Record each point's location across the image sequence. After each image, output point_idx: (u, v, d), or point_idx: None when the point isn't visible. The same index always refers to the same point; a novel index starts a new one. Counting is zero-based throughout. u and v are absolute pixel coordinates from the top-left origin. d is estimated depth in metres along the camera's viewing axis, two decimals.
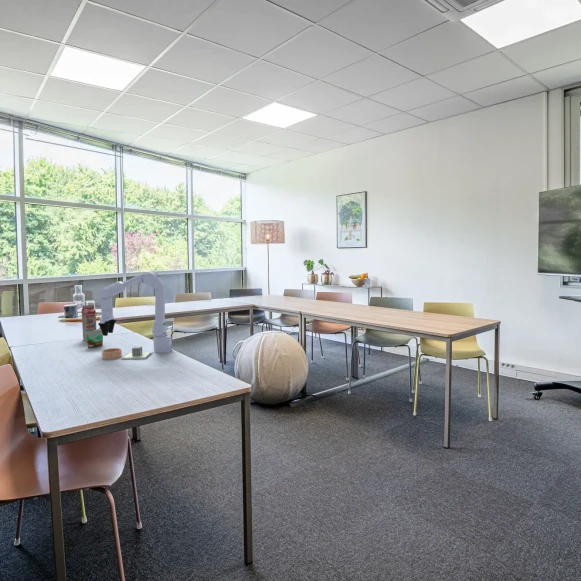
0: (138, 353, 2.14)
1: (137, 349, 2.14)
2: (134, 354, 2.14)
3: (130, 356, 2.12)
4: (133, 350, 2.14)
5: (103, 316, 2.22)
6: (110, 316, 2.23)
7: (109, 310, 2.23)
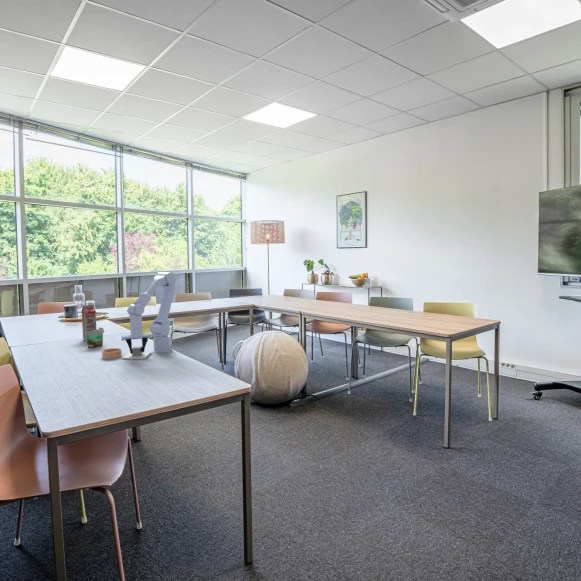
0: (138, 353, 2.14)
1: (137, 349, 2.14)
2: (134, 354, 2.14)
3: (130, 356, 2.12)
4: (133, 350, 2.14)
5: None
6: (133, 334, 2.12)
7: (132, 328, 2.12)
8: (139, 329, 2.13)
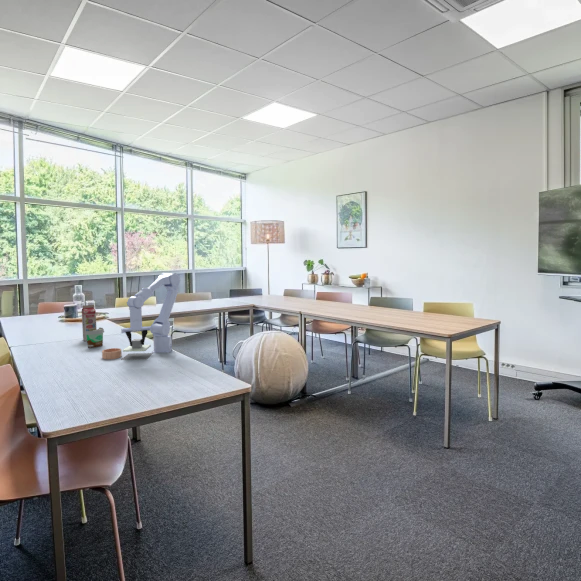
0: (138, 345, 2.13)
1: (137, 341, 2.13)
2: (134, 346, 2.13)
3: (130, 348, 2.12)
4: (133, 342, 2.13)
5: None
6: (133, 327, 2.12)
7: (132, 320, 2.11)
8: (139, 321, 2.12)
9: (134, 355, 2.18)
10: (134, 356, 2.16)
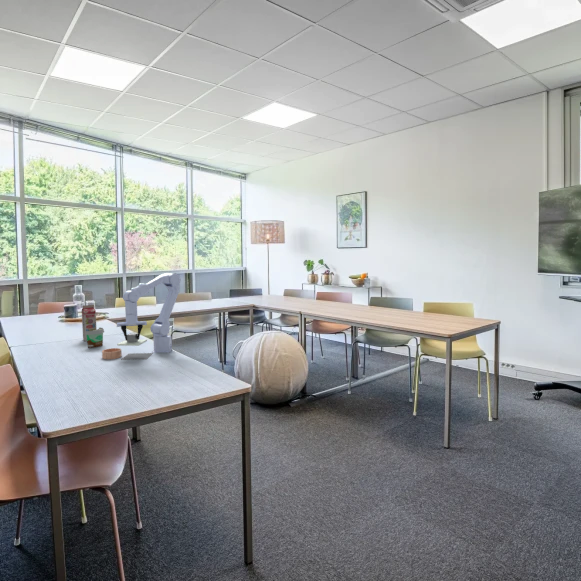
0: (133, 340, 2.13)
1: (132, 336, 2.13)
2: (129, 341, 2.13)
3: (125, 343, 2.12)
4: (128, 337, 2.13)
5: None
6: (128, 321, 2.11)
7: (127, 314, 2.11)
8: (134, 316, 2.12)
9: (134, 355, 2.18)
10: (134, 356, 2.16)
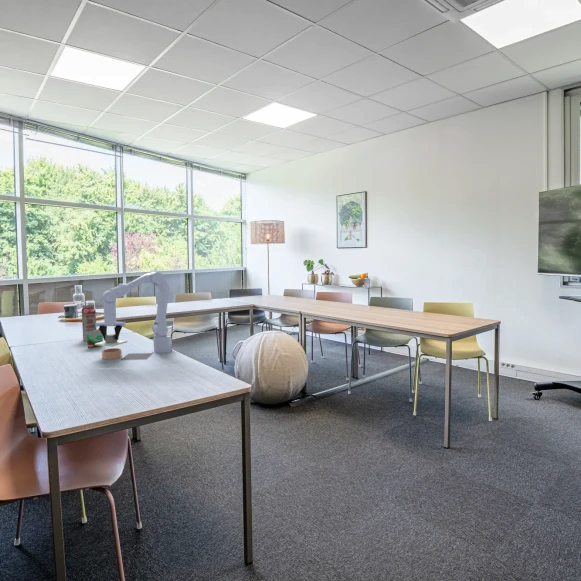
0: (110, 340, 2.12)
1: (109, 336, 2.12)
2: (107, 341, 2.13)
3: (102, 343, 2.12)
4: (106, 337, 2.13)
5: None
6: (105, 321, 2.11)
7: (104, 315, 2.11)
8: (110, 316, 2.11)
9: (134, 355, 2.18)
10: (134, 356, 2.16)
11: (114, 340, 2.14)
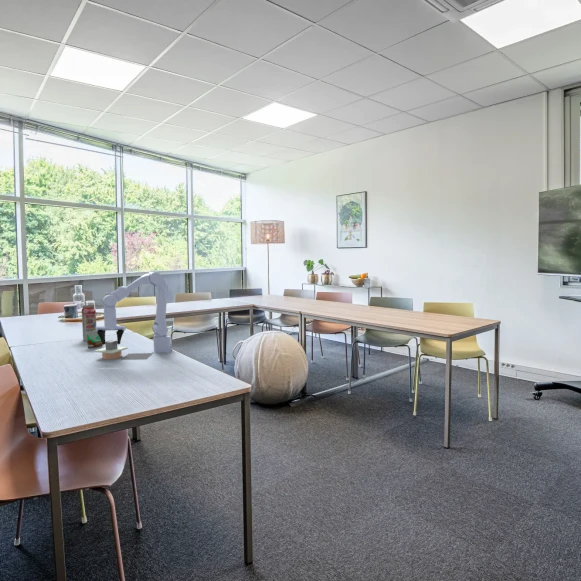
0: (110, 347, 2.12)
1: (109, 343, 2.12)
2: (107, 348, 2.13)
3: (103, 349, 2.12)
4: (106, 344, 2.13)
5: None
6: (105, 325, 2.11)
7: (105, 319, 2.11)
8: (110, 320, 2.11)
9: (134, 355, 2.18)
10: (134, 356, 2.16)
11: (114, 347, 2.14)
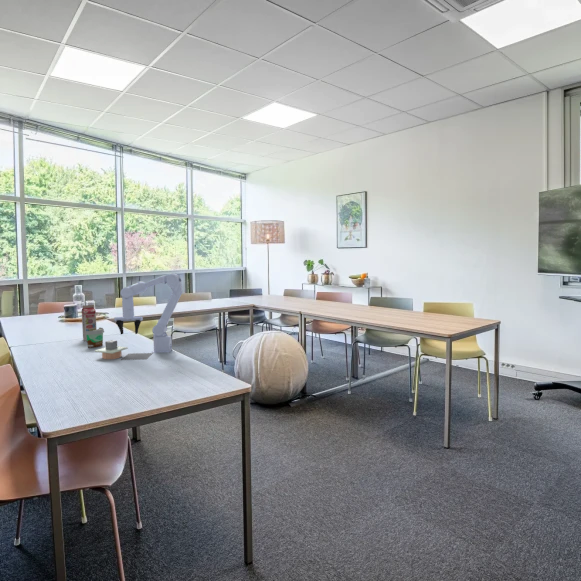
0: (110, 347, 2.12)
1: (109, 343, 2.12)
2: (107, 348, 2.13)
3: (103, 349, 2.12)
4: (106, 344, 2.13)
5: None
6: (124, 316, 2.22)
7: (123, 310, 2.22)
8: (129, 311, 2.22)
9: (134, 355, 2.18)
10: (134, 356, 2.16)
11: (114, 347, 2.14)
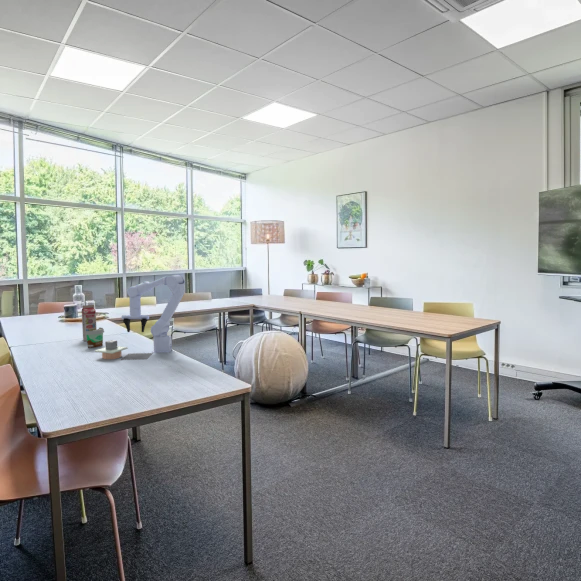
0: (110, 347, 2.12)
1: (109, 343, 2.12)
2: (107, 348, 2.13)
3: (103, 349, 2.12)
4: (106, 344, 2.13)
5: None
6: (131, 314, 2.27)
7: (130, 308, 2.27)
8: (136, 310, 2.27)
9: (134, 355, 2.18)
10: (134, 356, 2.16)
11: (114, 347, 2.14)
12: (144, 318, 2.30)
